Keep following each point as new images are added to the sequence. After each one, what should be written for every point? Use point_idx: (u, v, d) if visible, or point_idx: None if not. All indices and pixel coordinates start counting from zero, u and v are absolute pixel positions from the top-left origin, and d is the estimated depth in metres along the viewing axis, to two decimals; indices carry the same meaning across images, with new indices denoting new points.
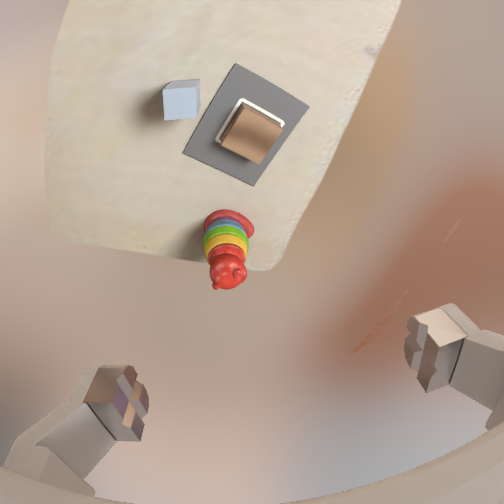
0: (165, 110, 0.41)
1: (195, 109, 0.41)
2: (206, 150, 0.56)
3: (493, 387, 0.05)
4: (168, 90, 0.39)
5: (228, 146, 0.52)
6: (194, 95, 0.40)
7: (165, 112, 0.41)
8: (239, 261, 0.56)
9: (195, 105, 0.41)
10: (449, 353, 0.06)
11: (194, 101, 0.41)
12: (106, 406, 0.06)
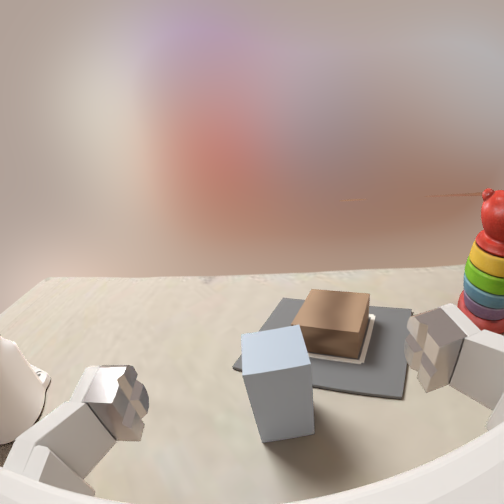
0: (288, 365, 0.21)
1: (283, 328, 0.25)
2: (384, 369, 0.29)
3: (493, 387, 0.05)
4: (244, 366, 0.22)
5: (357, 325, 0.32)
6: (256, 333, 0.25)
7: (292, 365, 0.21)
8: (481, 214, 0.29)
9: (275, 330, 0.25)
10: (449, 353, 0.06)
11: (268, 332, 0.25)
12: (106, 406, 0.06)
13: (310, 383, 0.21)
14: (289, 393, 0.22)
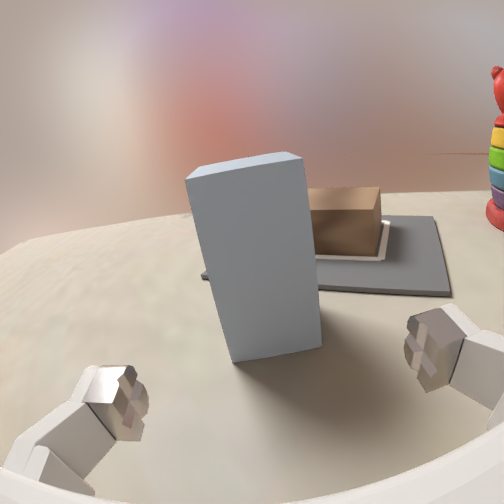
0: (264, 163, 0.12)
1: (260, 155, 0.17)
2: (415, 264, 0.21)
3: (493, 387, 0.05)
4: (191, 175, 0.13)
5: (369, 205, 0.23)
6: (221, 162, 0.17)
7: (271, 162, 0.12)
8: (494, 94, 0.20)
9: (249, 158, 0.17)
10: (449, 353, 0.06)
11: (238, 159, 0.17)
12: (107, 406, 0.06)
13: (307, 208, 0.13)
14: (271, 230, 0.13)
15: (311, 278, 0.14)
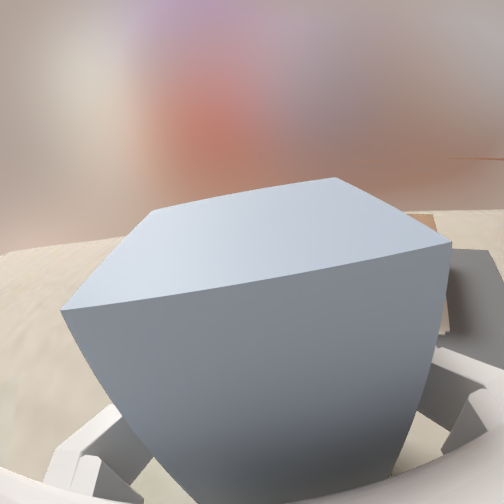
0: (327, 257, 0.03)
1: (285, 185, 0.08)
2: (490, 340, 0.12)
3: (450, 409, 0.05)
4: (96, 276, 0.04)
5: None
6: (198, 202, 0.08)
7: (354, 254, 0.03)
8: None
9: None
10: None
11: (235, 195, 0.08)
12: None
13: (423, 370, 0.04)
14: (325, 425, 0.04)
15: (385, 464, 0.05)
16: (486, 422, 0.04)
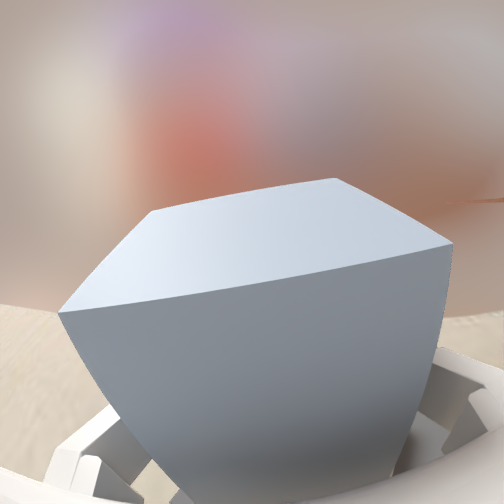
0: (326, 259, 0.03)
1: (284, 186, 0.08)
2: None
3: (450, 409, 0.05)
4: (94, 278, 0.04)
5: None
6: (197, 203, 0.08)
7: (354, 256, 0.03)
8: None
9: None
10: None
11: (234, 196, 0.08)
12: None
13: (423, 373, 0.04)
14: (324, 428, 0.04)
15: (385, 466, 0.05)
16: (486, 422, 0.04)
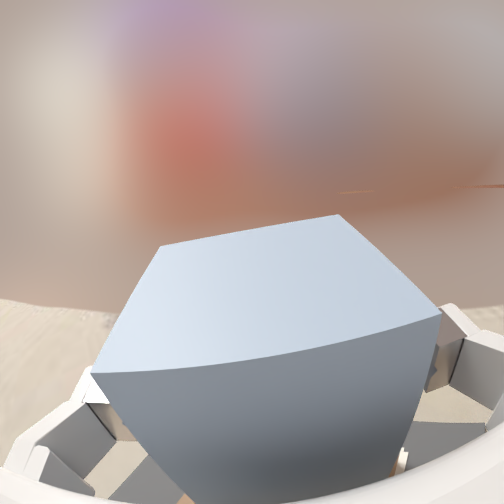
0: (328, 331, 0.04)
1: (289, 224, 0.08)
2: None
3: (493, 387, 0.05)
4: (117, 334, 0.04)
5: None
6: (205, 240, 0.08)
7: (353, 327, 0.04)
8: None
9: (266, 230, 0.08)
10: (449, 353, 0.06)
11: (241, 234, 0.08)
12: (107, 406, 0.06)
13: (411, 410, 0.04)
14: (323, 454, 0.05)
15: None
16: None
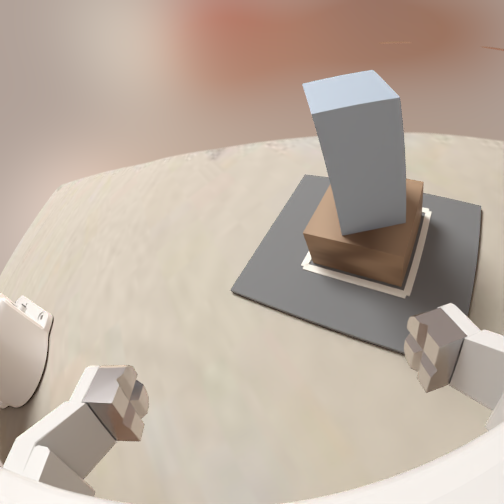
0: (370, 99, 0.14)
1: (353, 73, 0.16)
2: None
3: (493, 387, 0.05)
4: (312, 106, 0.15)
5: (402, 241, 0.19)
6: (321, 80, 0.17)
7: (376, 99, 0.14)
8: None
9: (345, 76, 0.17)
10: (449, 353, 0.06)
11: (335, 78, 0.17)
12: (106, 406, 0.06)
13: (401, 131, 0.15)
14: (376, 146, 0.16)
15: (401, 177, 0.17)
16: None
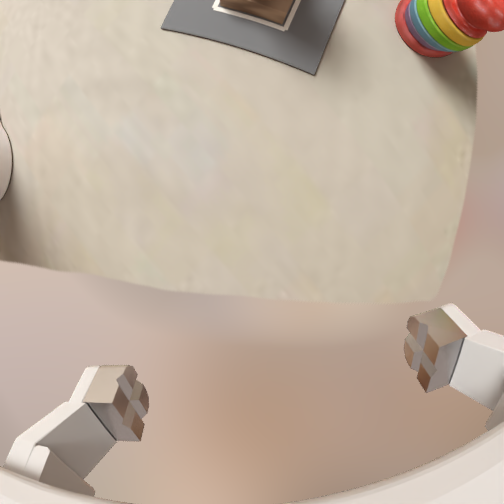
0: None
1: None
2: (305, 42, 0.30)
3: (493, 387, 0.05)
4: None
5: (287, 3, 0.25)
6: None
7: None
8: None
9: None
10: (449, 353, 0.06)
11: None
12: (106, 406, 0.06)
13: None
14: None
15: None
16: None
